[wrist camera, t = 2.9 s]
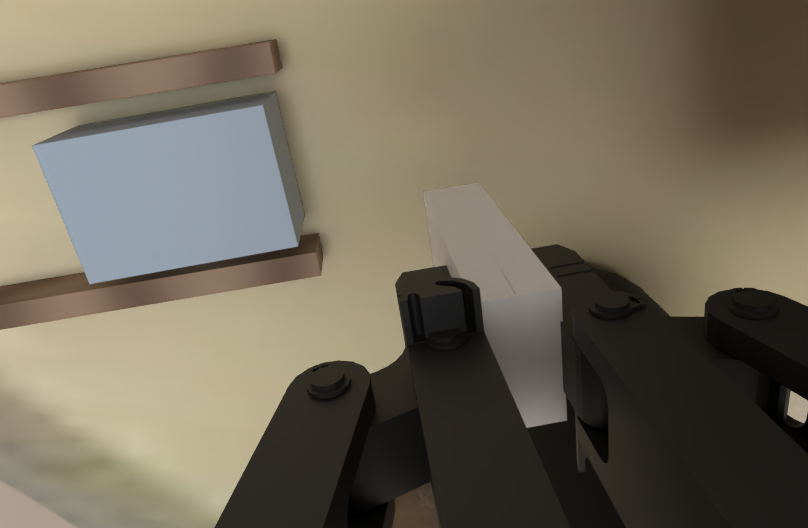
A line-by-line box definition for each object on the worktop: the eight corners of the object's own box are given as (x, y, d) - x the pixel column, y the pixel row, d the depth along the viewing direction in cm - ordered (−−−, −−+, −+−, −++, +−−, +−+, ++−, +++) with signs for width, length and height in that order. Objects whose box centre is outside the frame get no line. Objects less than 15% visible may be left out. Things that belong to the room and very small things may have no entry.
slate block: (275, 90, 27) (262, 105, 23) (305, 213, 30) (298, 246, 25) (79, 124, 27) (31, 145, 23) (125, 245, 29) (89, 284, 25)
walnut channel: (276, 39, 26) (268, 42, 24) (323, 255, 30) (320, 275, 28) (-91, 98, 26) (-133, 106, 23) (8, 308, 30) (-20, 332, 28)
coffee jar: (457, 422, 35) (553, 787, 19) (478, 254, 31) (627, 534, 14) (629, 422, 36) (863, 767, 20) (672, 261, 32) (1014, 527, 16)
